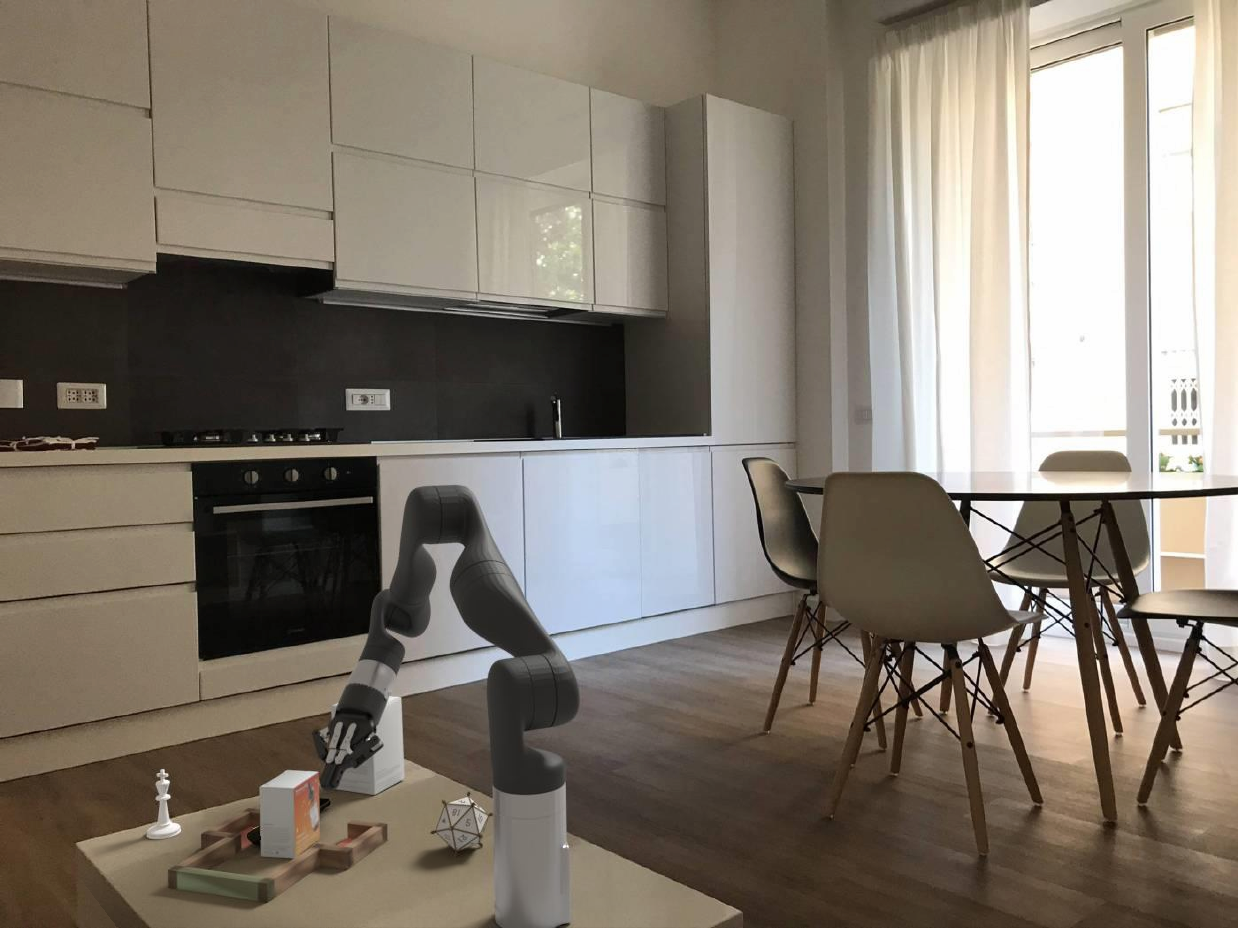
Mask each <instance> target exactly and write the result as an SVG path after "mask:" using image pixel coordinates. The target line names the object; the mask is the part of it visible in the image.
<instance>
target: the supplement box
mask: <svg viewBox="0 0 1238 928" xmlns="http://www.w3.org/2000/svg"><path fill="white" fill-rule="evenodd" d="M337 705H338V702H337V703H334V704H333V705H330V710H331V712H330V713H331V720H332V719H333V718H334V716H335V712H336V707H337ZM402 705H403V704H402V697H401V696H391V695H390V697H389V699H388V702H387V704H386V707H385V709H384V712H383V714H382V717H381V719H380V722H379V724H378V725H377V726H376V729H377V732H376V735H377V736H378V737H379V738H380V740H381V741H382V742H383V744H384V746H383V748H381V749H380V750H379V751H378V752H376V753H375V754H374V755H373V756H371V757H370V758H369V759H368V760H366V761H365V762H364V763H363V764H361V765H360V766H359V767H358V768H356V769H354V768H353V767H352V768H348V769H347V770H346V771H344V774H343V776H342V779H341V781H340V783H339V786H338V787H337V788H335V789H334V790H338V791H344V792H350V793H351V792H352V793H358V794H365V795H372V796H375V795H377V794H380V793H381V792H383V791H385V790H386V789H388V788H390V787H392V786H393V785H395V784H397V783H400V782H401V781H402V780H403V781H404V779H405V760H404V759H405V758H404V755H405V754H404V735H403V733H404V732H403V731H404V730H403V710H402V709H403V707H402Z"/></svg>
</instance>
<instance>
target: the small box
mask: <svg viewBox="0 0 1238 928" xmlns="http://www.w3.org/2000/svg"><path fill="white" fill-rule="evenodd" d="M319 773H320V772H319V771H314V770H293V769H286V770H285V771H283V772H282V773H281V774H279V775H277V776H276V777H275V778H273V779H271V780H269V781H268V782H266V783H264V784H262V785H261V786H259V787H258V788H259V809H260V836H261V840H260V856H261V857H262V858H263V857H265V858H276V859H277V858H280V859H294V858H296V857H297V856H299V855H300V854H302V853H303V852H305V851H306V850H308V849H309V848H311V847H312V846H313V845H315V844H316V843H317V842H318V841H319V840H320V839H321V833H320V832H321V831H320V830H321V829H320V828H321V827H320V826H321V824H320V819H321V818H320V783H319V780H320V776H319V775H320V774H319ZM316 841H317V842H316Z"/></svg>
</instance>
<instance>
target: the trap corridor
mask: <svg viewBox="0 0 1238 928" xmlns="http://www.w3.org/2000/svg"><path fill="white" fill-rule="evenodd" d="M257 826H260V808H251V807H248V808H245V809H244V810H242V811H240V812H239V813H237V814H235V815H233V816H232V817H228V818H227V819H226V820H223V821H221V822H220V823H217V824H216V825H215V826H212V827H210V828H209V829H206V830H205V831H204V832H202V833H201V834H200V851H199V852H197V853H195V854H194V855H192V856H190V857H188V858H187V859H184V860H182V861H181V862H179V863H178V864H175V865H174V866H173V867H170V868H168V869H167V881H168V882H167V884H168V885H167V887H168V889H171V890H172V889H174V890H180V891H187V892H193V893H200V894H207V895H215V896H222V897H228V898H234V899H235V898H236V899H242V900H243V899H244V900H249V901H256V902H257V901H258V902H261V903H262V902H264V903H270V901H272V900H273V899H275V898H276V897H278V896H279V895H281V894H283V892H285V891H286V890H288V889H289V888H291V887H292V886H293V885H295V884H297V883H298V882H300V881H301V880H302V879H304V878H305V877H306V876H308V875H310V874H311V873H312V872H314V871H315V870H317V869H318V868H319V867H326V868H335V869H342V870H349V869H350V868H351V867H354V865H356V864H358V862H359V861H361V860H363V859H364V858H365V857H367V856H368V855H370V853H372V852H373V851H375V850H376V849H378V848H379V847H380V846H382V845H383V844H384V843H386V842H387V841H388V837H389V836H388V823H383V822H382V823H381V822H374V821H364V820H355V819H352V820H350V821H349V822H348V823H346V826H347V827H346V828H347V831H346V832H347V837H346V838H345V839H344V840H342V841H341V842H339V843H338V844H336V845H333V844H324V843H314V844H313V845H311V846H310V847H308V848H307V849H306V850H304V851H303V852H302V853H301V854H299V855H298V856H297V857H296V858H292V859H291V860H290V861H287V863H285V864H283V865H282V866H280V867H279V868H277V869H276V870H274V871H273V872H271V873H270V874H268V875H267V876H266V877H262V876H257V875H256V876H254V875H247V874H241V873H235V872H233V873H232V872H225V871H220V870H219V871H218V870H212V869H214V868H215V867H217V866H218V865H219V866H220V865H221V864H222V863H224V862H226V861H227V860H229V859H230V858H232V857H234V856H235V855H237V854H238V853H240V852H242V851H244V850H246V849H247V848H249V847H250V846H252V845H253V844H252V842H250V841H249V840H248V839H247V835H246V834H247V833H248V832H250V831H252V830H253V828H255V827H257Z"/></svg>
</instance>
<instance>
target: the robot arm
mask: <svg viewBox="0 0 1238 928" xmlns="http://www.w3.org/2000/svg"><path fill="white" fill-rule="evenodd" d="M402 517H403V518H402V524H401V530H400V538H399V539H400V540H399V548H398V549H399V550H398V557H397V564H396V567H395V570H394V573H393V575H392V578H391V581H390V585H389V588H385V589H383V590H381V591H379V592H378V593H377V594H376V595H375V597H374V599H373V601H372V605H371V610H370V621H369V629H368V635H367V639H366V642H365V644H364V647H363V648H362V649H363V650H362V652H361V654H360V656H359V658H358V661H357V663H356V665H355V667H354V668H353V670H352V672H351V674H350V675H349V678H348V680H347V682H346V685H345V687H344V689H343V691H342V693H341V695H340V698H339V700H338V702H337V703H338V705H337V707H336V712H335V716H334V718H333V719H332V718H331V719H330V721H329V722H328V724H327V727H325V728H323V729H321V730H319V729H317V728H316V729H313V730H312V731H311V736H312V739H313V743H314V746H315V750H316V754H317V757H318V759H320V761H321V762H322V763H323V764H324V769H323V770H322V773H321V776H320V777H319V787H320V788H321V789H322V790H323V791H325V792H334V791H335V790H336V789H335V788H337V787H338V786H339V783H340V781H341V779H342V776H343V774H344V771H346V770H347V769H348V768H352V767H353V768H354V769H356V768H358V767H359V766H360V765H361V764H363V763H364V762H365V761H366V760H368V759H369V758H370V757H371V756H373V755H374V754H375V753H376V752H378V751H379V750H380V749H381V748H383V746H384V744H383V742H382V741H381V740H380V738H379V737H378V736H377V735H376V732H377V729H376V726H377V725H378V724H379V722H380V719H381V717H382V714H383V712H384V709H385V707H386V704H387V702H388V699H389V697H390V696H391V694H392V692H393V689H394V685H395V681H396V678H397V676H398V672H399V670H400V668H401V666H402V664H403V661H404V658H405V655H406V648H405V646H404V644H403V643H402V642H401V641H400V640H398V639H397V638H396V637H394V636H393V635H392V634H390V633H389V632H388V631H390V632H393V633H395V634H398V635H401V636H403V637H406V638H410V639H412V638H418V637H420V636H421V635H423V634H424V633H425V632H426V631H427V629H428V626H429V623H430V621H431V614H432V610H431V607H432V606H431V601H430V595H431V592H432V590H433V588H434V586H435V583H436V581H437V565H436V563H435V560H434V559H433V557H432V555H431V554H430V553H429V552H428V550H427V549H426V548H425V546H424V545H441V544H442V545H444V544H456V543H458V544H461V545H462V546H463V547H464V548H463V550H462V551H461V554H460V555H459V557H458V559H457V560H456V562H455V564H454V566H453V568H452V570H451V574H450V578H449V592H450V595H451V597H452V600H453V602H454V604H455V607H456V609H457V611H458V613H459V615H460V617H461V619H462V620H463V623H464V624H465V625H466V626H467V628H469V629H470V630H471V631H472V632H473V633H475V634H476V635H477V636H479V637H480V638H482V639H483V640H485V641H486V642H488V643H490V644H492V645H494V646H496V647H497V648H499V649H500V650H503V652H504V651H505V653H507V654H509V655H511V656H512V657H507V658H502V659H501V658H500V659H498V660H496V661H494V662H493V663H492V664H491V666H490V668H489V671H488V673H487V680H486V702H487V703H486V704H487V714H488V715H487V716H488V728H489V752H490V754H489V755H490V763H491V772H492V809H493V810H492V813H493V816H492V818H493V819H492V820H493V821H492V822H493V823H492V825H493V829H492V832H493V833H492V835H493V873H494V874H493V878H494V879H493V882H494V884H493V888H494V890H493V891H494V899H493V900H494V921H495V922H496V924H497V925H498V926H499V927H500V928H557V927H559V926H561V925H563V924H564V925H565V924H569V923H572V912H571V909H572V908H571V907H572V906H571V904H572V903H571V896H572V895H571V850H570V846H569V844H568V841H567V799H566V798H567V795H566V794H567V793H566V792H567V790H566V788H567V787H566V782H567V781H566V779H567V778H566V776H567V774H566V764H565V761H564V759H563V758H562V756H559V754H556V753H554V752H551V751H548V750H545V749H539V748H534V747H531V746H528V745H526V744H525V739H524V738H525V737H524V732H529V731H536V730H543V729H550V728H555V727H559V726H563V725H566V724H568V723H570V722H572V720H573V719H575V717H576V716H577V714H578V712H579V709H580V704H581V703H580V702H581V700H580V699H581V698H580V696H581V695H580V688H579V685H578V681H577V677H576V675H575V673H574V670H573V668H572V666H571V664H570V662H569V661H568V659H567V658H566V656H565V654H564V653H563V652H562V650H561V649H560V648H559V646H558V645H557V644H556V642H555V641H554V639H553V638H552V637H551V636H550V634H549V633H548V632H547V630H546V629H545V627H544V626H543V625H542V623H541V621H540V620H539V618H538V617H537V616H536V614H535V612H534V611H533V609H532V607H531V605H530V603H529V602H528V600H527V598H526V596H525V594H524V592H523V591H522V588H521V586H520V584H519V583H518V582H519V581H518V580H517V578H516V577H515V575H514V572H513V571H512V570H511V568H510V567H509V565H508V563H507V561H506V559H505V558H504V557H503V555H502V553H501V552H500V549H499V548H498V546H497V544H496V542H495V540H494V538H493V535H492V534H491V530H490V528H489V526H488V524H487V521H486V518H485V516H484V514H483V510H482V508H481V506H480V503H479V501H478V499H477V497H476V495H475V494H474V492H473V491H472V490H471V489H470V488H469V487H467V486H465V485H459V484H444V485H443V484H442V485H440V484H439V485H423V486H418V487H415V488H413V489H412V490H411V491H410V492H409V495H407V499H406V501H405V504H404V510H403V515H402ZM387 630H388V631H387ZM329 738H330V739H329ZM329 740H330V743H329ZM328 743H329V747H328Z"/></svg>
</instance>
